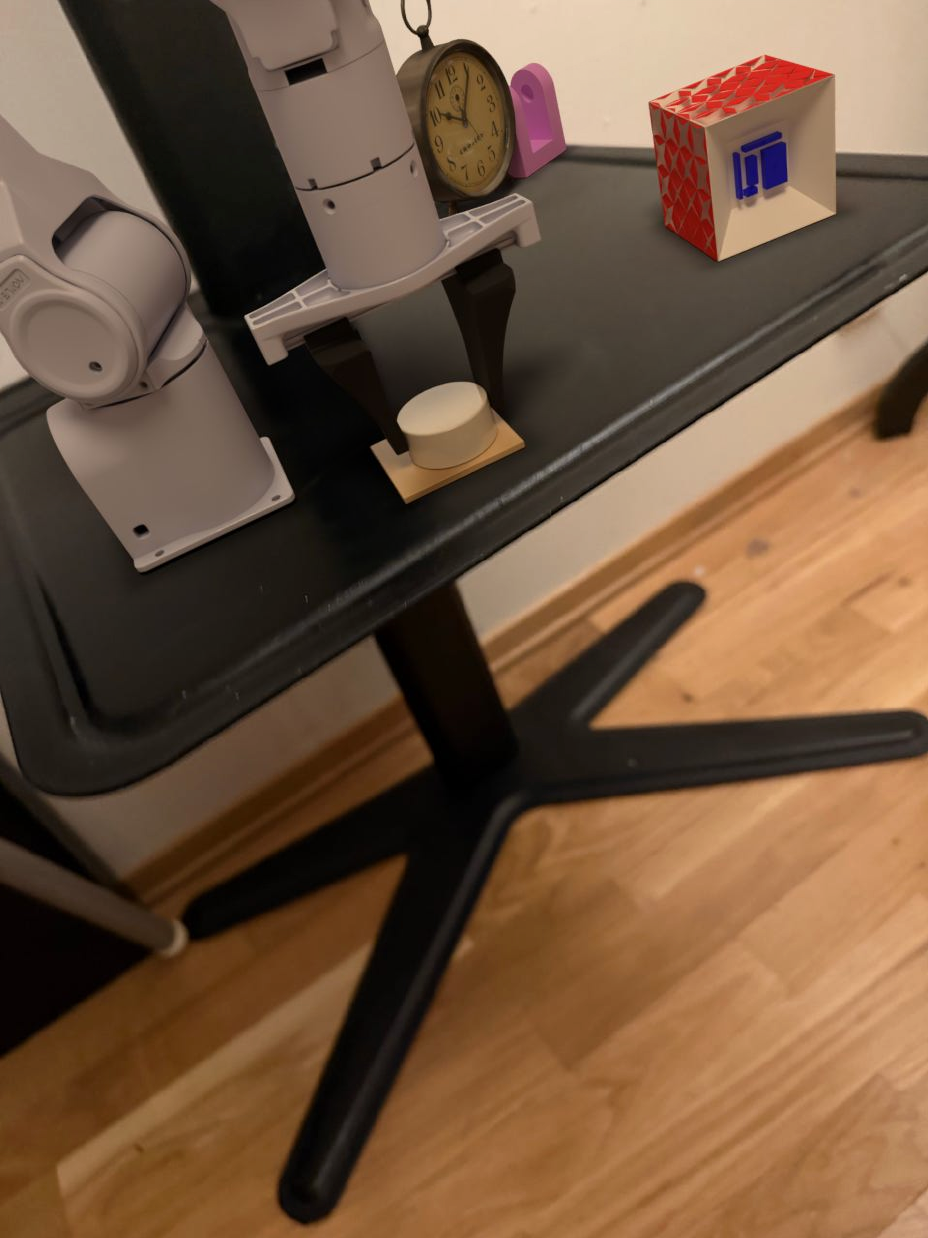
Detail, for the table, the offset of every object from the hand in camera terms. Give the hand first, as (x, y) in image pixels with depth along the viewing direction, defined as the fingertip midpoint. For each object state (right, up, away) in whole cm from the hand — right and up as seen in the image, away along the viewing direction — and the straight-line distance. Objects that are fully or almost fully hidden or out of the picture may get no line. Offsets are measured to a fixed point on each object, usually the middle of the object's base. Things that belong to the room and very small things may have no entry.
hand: (445, 422), depth 48 cm
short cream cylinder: (0, -1, 0) cm, 1 cm away
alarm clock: (+2, +24, +27) cm, 36 cm away
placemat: (0, -1, +1) cm, 2 cm away
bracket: (+4, +31, +34) cm, 46 cm away
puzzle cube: (+19, +15, +10) cm, 27 cm away
